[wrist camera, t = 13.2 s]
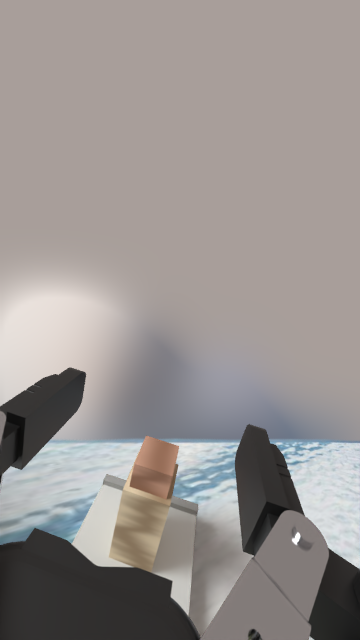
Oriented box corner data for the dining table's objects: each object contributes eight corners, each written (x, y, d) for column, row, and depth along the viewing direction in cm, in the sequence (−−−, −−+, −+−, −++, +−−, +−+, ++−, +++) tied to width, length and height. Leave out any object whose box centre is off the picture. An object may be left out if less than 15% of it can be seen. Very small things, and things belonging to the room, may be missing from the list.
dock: (48, 603, 24) (51, 578, 23) (103, 493, 35) (106, 473, 34) (180, 655, 22) (189, 631, 22) (192, 523, 34) (198, 504, 33)
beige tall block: (108, 557, 26) (127, 466, 23) (125, 512, 31) (143, 431, 28) (150, 573, 25) (176, 482, 22) (161, 524, 30) (183, 444, 27)
